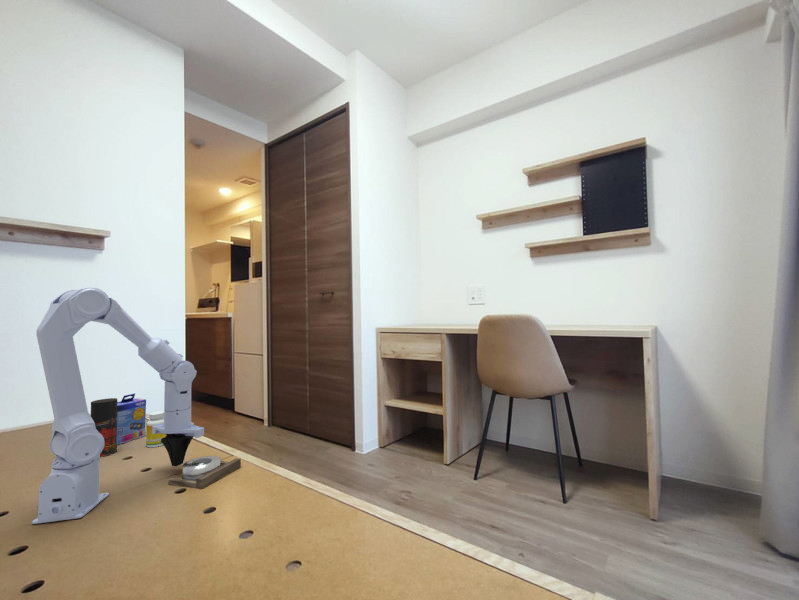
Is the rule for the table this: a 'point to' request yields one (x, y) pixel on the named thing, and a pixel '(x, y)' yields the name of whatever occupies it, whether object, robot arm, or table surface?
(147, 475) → the table surface
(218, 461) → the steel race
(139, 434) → the ink cartridge box
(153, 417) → the supplement bottle
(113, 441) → the deodorant
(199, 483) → the cradle
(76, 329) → the robot arm
